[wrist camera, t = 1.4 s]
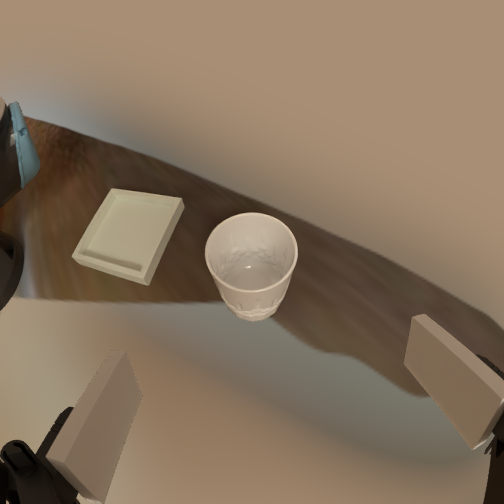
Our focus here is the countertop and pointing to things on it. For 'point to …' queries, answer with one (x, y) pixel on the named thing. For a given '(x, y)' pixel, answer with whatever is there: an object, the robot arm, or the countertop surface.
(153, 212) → the coaster tray
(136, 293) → the countertop surface
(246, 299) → the white cup
